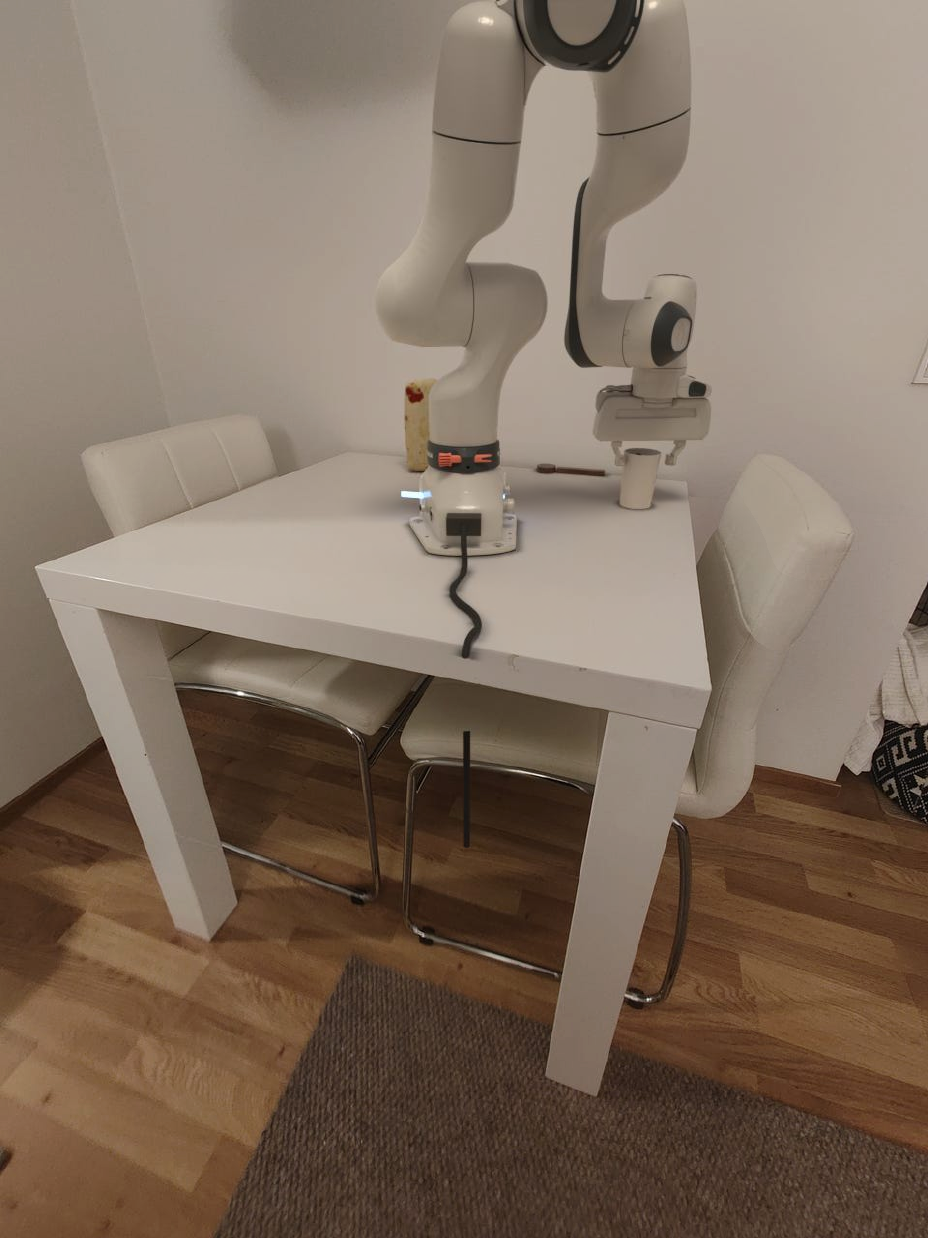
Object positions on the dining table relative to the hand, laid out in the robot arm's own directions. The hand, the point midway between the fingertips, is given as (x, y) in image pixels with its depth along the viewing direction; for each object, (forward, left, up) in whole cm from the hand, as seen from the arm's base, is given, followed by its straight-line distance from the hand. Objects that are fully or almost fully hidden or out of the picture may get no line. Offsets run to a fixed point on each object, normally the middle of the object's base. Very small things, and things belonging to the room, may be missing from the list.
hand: (644, 465), depth 105 cm
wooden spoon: (+27, +6, -8) cm, 29 cm away
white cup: (+1, 0, -8) cm, 8 cm away
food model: (+33, +39, -8) cm, 52 cm away
